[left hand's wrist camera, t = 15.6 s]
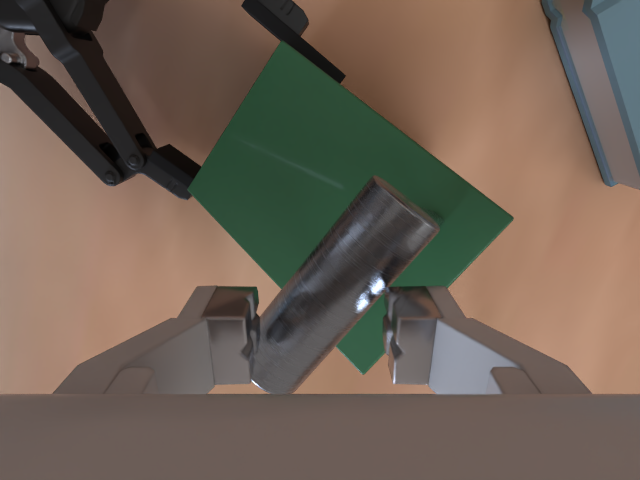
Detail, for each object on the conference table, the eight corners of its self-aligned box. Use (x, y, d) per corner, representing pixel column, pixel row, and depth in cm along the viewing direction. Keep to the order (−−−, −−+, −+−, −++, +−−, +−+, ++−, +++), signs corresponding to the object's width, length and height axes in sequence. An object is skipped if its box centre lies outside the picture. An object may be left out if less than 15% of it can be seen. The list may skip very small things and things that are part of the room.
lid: (514, 219, 16) (535, 206, 8) (368, 369, 19) (268, 480, 10) (289, 46, 20) (145, -84, 12) (196, 191, 23) (26, 168, 14)
